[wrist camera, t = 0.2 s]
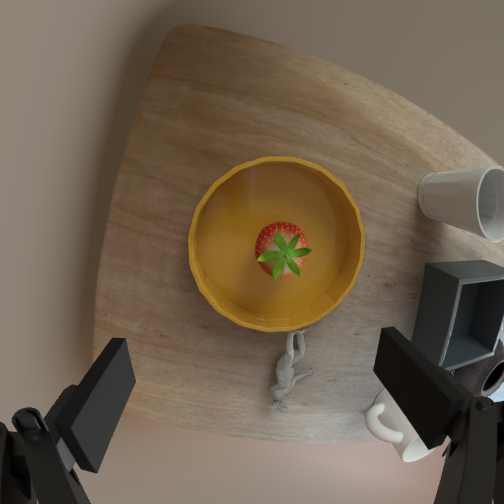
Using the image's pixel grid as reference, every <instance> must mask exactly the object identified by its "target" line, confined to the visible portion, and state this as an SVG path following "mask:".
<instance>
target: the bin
mask: <svg viewBox="0 0 504 504" xmlns="http://www.w3.org/2000/svg"><path fill="white" fill-rule="evenodd" d="M503 324H504V267H501V266H498V265H496V264H493V263H491V262H488V261H485V260H477V261H459V262H440V263H426V265H425V273H424V279H423V286H422V292H421V298H420V304H419V309H418V314H417V319H416V324H415V328H414V333H413V337H412V341H411V343H412V344H413V345H414V346H415V347H416V348H417V349H418V350H419V351H420V352H421V353H422V354H423V355H424V356H425V357H426V358H427V359H428V360H429V361H430V362H431V363H432V364H433V365H434V366H441V367H443V368H445V369H447V370H448V371H450V370H454V369H457V368H460V367H463V366H465V365H468V364H471V363H474V362H477V361H479V360H482V359H485V358H487V357H490V356H492V355H494V352H495V349H496V346H497V343H498V340H499V337H500V334H501V330H502V327H503Z"/></svg>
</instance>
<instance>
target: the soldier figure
mask: <svg viewBox="0 0 504 504" xmlns="http://www.w3.org/2000/svg"><path fill="white" fill-rule="evenodd" d="M305 331H312V328H310V327H307V326H305V327H301V328H298V329H295V330H293V331H286V334H287V339H286V353H284V354H283V355H282V357H280V358H279V360H278V362H277V365H276V377H277V381H276V383H275V385H273V386H271V387H270V390H271V394H272V396H273V397H274V398H275V400H274V401H275V402H274V401H273V404H272V405H270V406H268V407H269V408H271V409H272V410H274V411H277V412H288V411H290V410H289V409H288V408H287V406H286V404H285V403H283V402H282V401H281V400H284V399H286V398H288V397H289V396H290V395H289V394H290V393H291V392H292V390H293V387H294V385H295V384H296V382H297V381H299V380H301V379H303V378H305V377H307V376H309V375H311V374H313V373H314V372H315V371H316V369H315V370H313V371H311V369H312V368H311V369H310V371H309V372H308V373H302V374H299V375H296V376H294V368H293V367H292V366H293V365H294V364H295V363H297V362H298V361H299V360H300V359H301V358H302V357H303V356H304V354H305V352H306V349H305V348H306V345H305V343H304V337H303V333H304V332H305ZM296 333H297V347H298V349H297V350H294V349H293V335H295V334H296Z"/></svg>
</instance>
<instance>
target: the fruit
mask: <svg viewBox="0 0 504 504" xmlns="http://www.w3.org/2000/svg"><path fill="white" fill-rule="evenodd" d="M311 251H312V249H310V248H307V241H306V237H305V235H304V233H303V232H302V230H301V229H300V228H299V227H298V226H297V225H294V224H292V223H288V222H275V223H272V224H269V225H267V226H266V227H264V228H263V229H262V230H261V232H260V233H259V235H258V238H257V240H256V245H255V257H256V259H257V262H258V263H259V265H260V266H261V267H262V269H263V270H264V271H265V272H266V273H267V274H269V275H270V276H272V277H273V281H275V280H276V279H277V278H285V277H289V276H291V275H293V274H294V273H295V274H297V275H298V276H299V277H300V270H299V269H300V268H301V266H302V265H303V263H304V261H305V258H306V256H307V254H309V253H310V252H311Z"/></svg>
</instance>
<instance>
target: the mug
mask: <svg viewBox="0 0 504 504" xmlns="http://www.w3.org/2000/svg"><path fill="white" fill-rule="evenodd" d="M379 421H380V422H379ZM365 423H366V426H367V428H368V429H369V431H370V432H371V433H372V434H373V435H374V436H375V437H377V438H378V439H380V440H382V441H385V442H388V443H392V444H393V446H394V447H395V449H396V451H397V452H398V454H399V456H400V458H401V459H402V460H403V461H404V462H413V461H417V460H419V459H421V458H423V457H425V456H426V455H428V454H429V453H431V452H432V451H433V450H435V449H436V448H437V447H438V446H437V447H435V448H433V449H430V450H428V449H427V447H426V446H425V444H424V443H423V441H422V440H421V438H420V437H419V435H418V434H417V432H416V431H415V430H414V428H413V427H412V425H411V424H410V422H409V421H408V419H407V418H406V416H405V415H404V414H403V412H402V411H401V409H400V408H399V406H398V405H397V404H396V402H395V401H394V399H393V398H392V396H391V395H390V394H389V392H388V391H387V389H386V388H384V389H383V390H382V391H381V392H380V393H379V394H378V396H377V397H376V399H375V401H374V404H373V406H372V407H371V408H370V409H369V410H368V411H367V413H366V416H365Z"/></svg>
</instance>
